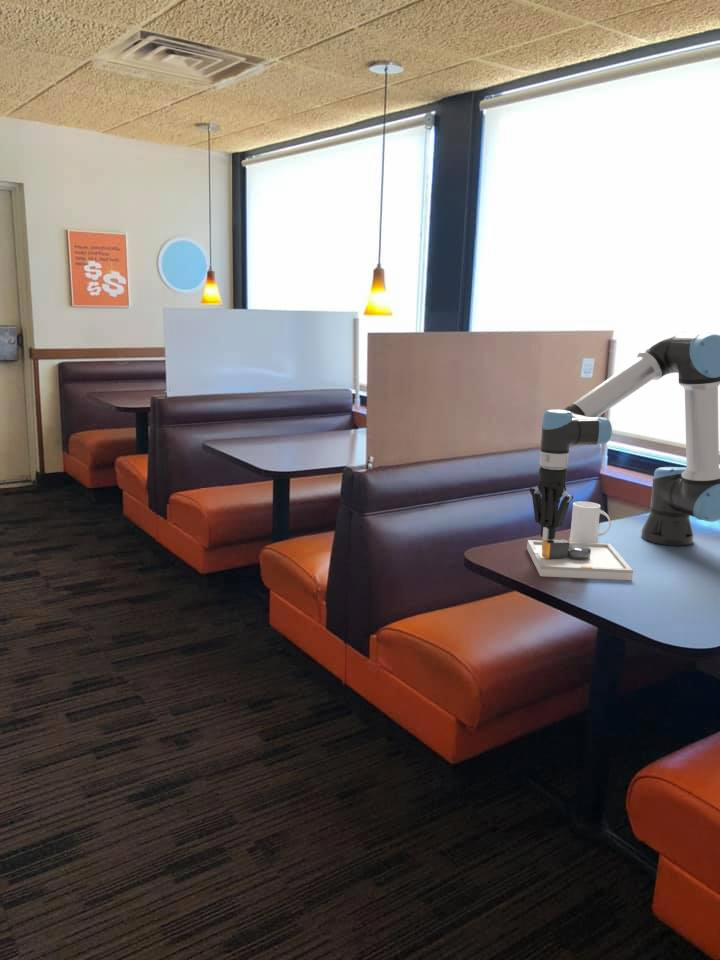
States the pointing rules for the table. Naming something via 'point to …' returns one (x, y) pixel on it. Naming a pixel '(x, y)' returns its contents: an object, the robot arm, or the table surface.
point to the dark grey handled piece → (564, 550)
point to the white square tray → (582, 563)
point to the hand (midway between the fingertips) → (546, 549)
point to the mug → (586, 522)
